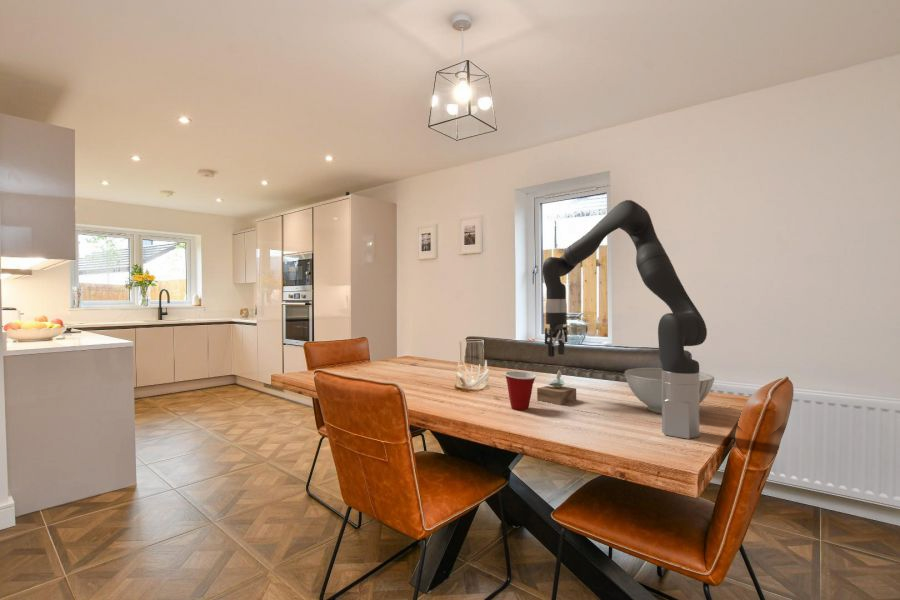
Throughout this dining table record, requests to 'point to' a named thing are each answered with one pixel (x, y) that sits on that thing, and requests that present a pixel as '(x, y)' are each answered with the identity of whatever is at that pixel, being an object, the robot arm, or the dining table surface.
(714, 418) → the dining table surface
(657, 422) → the dining table surface
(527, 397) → the plastic cup
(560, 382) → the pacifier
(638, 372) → the decorative bowl
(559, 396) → the walnut block
